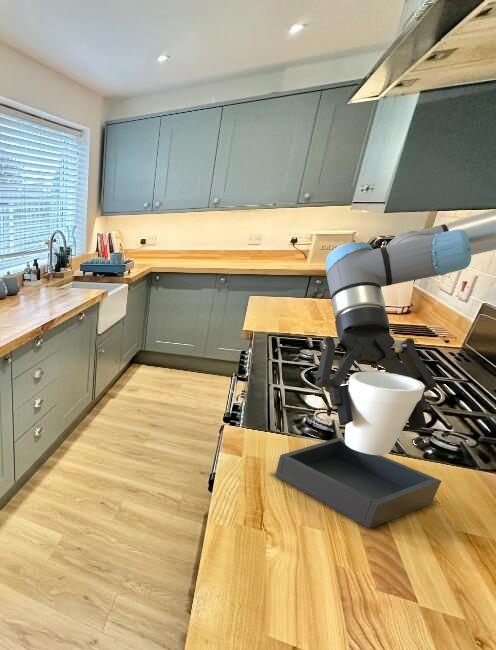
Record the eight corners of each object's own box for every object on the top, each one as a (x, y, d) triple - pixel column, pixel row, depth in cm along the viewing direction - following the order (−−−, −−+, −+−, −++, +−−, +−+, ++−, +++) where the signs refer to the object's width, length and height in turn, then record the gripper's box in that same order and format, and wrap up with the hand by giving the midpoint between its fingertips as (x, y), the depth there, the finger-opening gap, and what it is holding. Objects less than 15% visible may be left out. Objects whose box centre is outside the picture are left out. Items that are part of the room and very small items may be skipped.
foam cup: (368, 463, 72) (388, 393, 67) (321, 437, 80) (336, 375, 76) (417, 455, 73) (441, 386, 68) (365, 431, 81) (383, 369, 76)
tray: (431, 503, 76) (441, 480, 74) (369, 528, 71) (378, 504, 69) (332, 457, 91) (338, 437, 89) (274, 475, 86) (280, 454, 84)
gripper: (417, 326, 81) (445, 437, 73) (285, 324, 87) (297, 426, 79) (446, 305, 74) (481, 424, 66) (301, 304, 80) (317, 413, 72)
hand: (381, 425), depth 72 cm, fingers closed on foam cup, 10 cm apart
